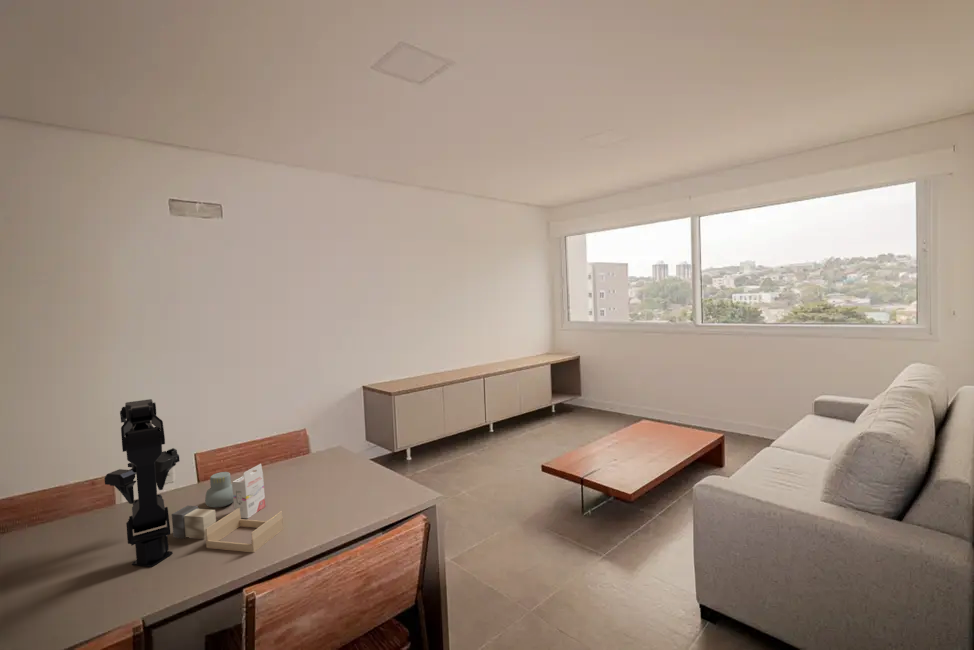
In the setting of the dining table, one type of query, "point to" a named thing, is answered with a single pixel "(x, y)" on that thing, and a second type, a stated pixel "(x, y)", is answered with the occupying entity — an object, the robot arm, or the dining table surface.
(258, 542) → the wooden tray frame
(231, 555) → the dining table surface
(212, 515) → the steel ended block
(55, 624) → the dining table surface
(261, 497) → the ink cartridge box
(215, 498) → the air freshener
